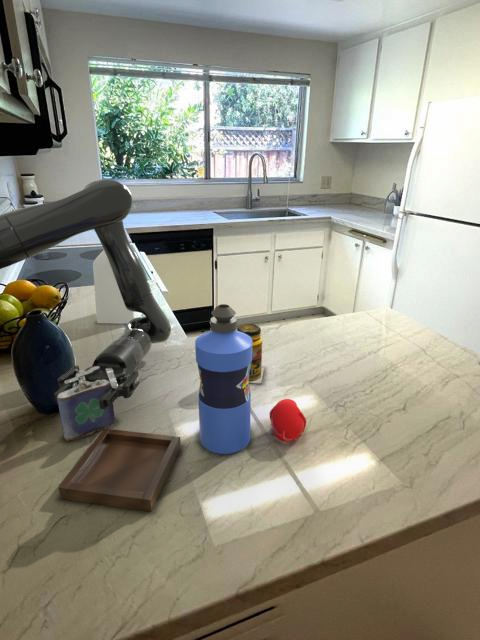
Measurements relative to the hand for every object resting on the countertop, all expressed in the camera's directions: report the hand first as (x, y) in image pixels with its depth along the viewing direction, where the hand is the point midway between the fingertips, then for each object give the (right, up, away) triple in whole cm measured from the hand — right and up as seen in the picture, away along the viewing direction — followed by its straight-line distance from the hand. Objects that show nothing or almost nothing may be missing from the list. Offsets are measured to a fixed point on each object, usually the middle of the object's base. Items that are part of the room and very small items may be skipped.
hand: (79, 402), depth 70 cm
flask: (0, -6, +4) cm, 7 cm away
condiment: (+29, +2, +24) cm, 37 cm away
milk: (-9, +15, +58) cm, 60 cm away
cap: (+37, -6, +4) cm, 37 cm away
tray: (+10, -10, -5) cm, 15 cm away
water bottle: (+25, -7, +3) cm, 26 cm away
